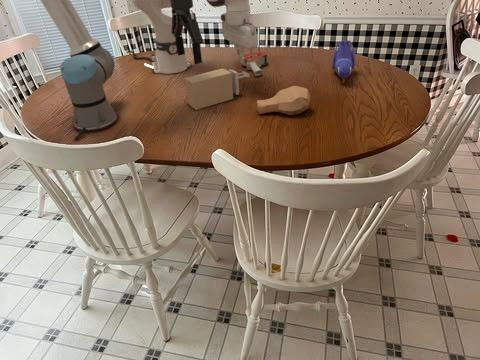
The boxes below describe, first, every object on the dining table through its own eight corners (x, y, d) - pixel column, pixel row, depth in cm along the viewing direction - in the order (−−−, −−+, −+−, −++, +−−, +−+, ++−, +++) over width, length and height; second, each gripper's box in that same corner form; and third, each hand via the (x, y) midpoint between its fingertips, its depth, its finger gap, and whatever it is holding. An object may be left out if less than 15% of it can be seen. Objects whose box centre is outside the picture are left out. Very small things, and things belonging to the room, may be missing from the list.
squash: (314, 116, 128) (313, 95, 122) (259, 125, 130) (256, 105, 124) (308, 99, 136) (307, 78, 129) (257, 108, 138) (253, 88, 131)
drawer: (244, 86, 152) (243, 66, 146) (251, 90, 148) (250, 69, 143) (198, 99, 143) (195, 78, 138) (204, 104, 139) (202, 82, 134)
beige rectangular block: (225, 93, 149) (223, 68, 143) (233, 98, 144) (231, 72, 138) (188, 104, 142) (184, 78, 136) (195, 109, 138) (192, 83, 131)
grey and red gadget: (258, 80, 163) (278, 64, 175) (258, 69, 159) (279, 54, 172) (226, 73, 170) (248, 58, 183) (226, 62, 167) (248, 48, 179)
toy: (330, 77, 169) (331, 86, 146) (332, 39, 162) (333, 43, 140) (352, 76, 166) (356, 85, 144) (355, 38, 160) (360, 41, 137)
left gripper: (208, -3, 113) (215, 64, 126) (174, -10, 130) (183, 49, 143) (187, 1, 110) (196, 69, 122) (155, -7, 127) (166, 53, 140)
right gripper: (261, 21, 126) (261, 60, 134) (232, 12, 140) (234, 48, 149) (246, 24, 123) (247, 63, 132) (218, 14, 138) (221, 51, 146)
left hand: (189, 58), depth 133 cm, fingers open, 13 cm apart
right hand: (240, 55), depth 140 cm, fingers closed
